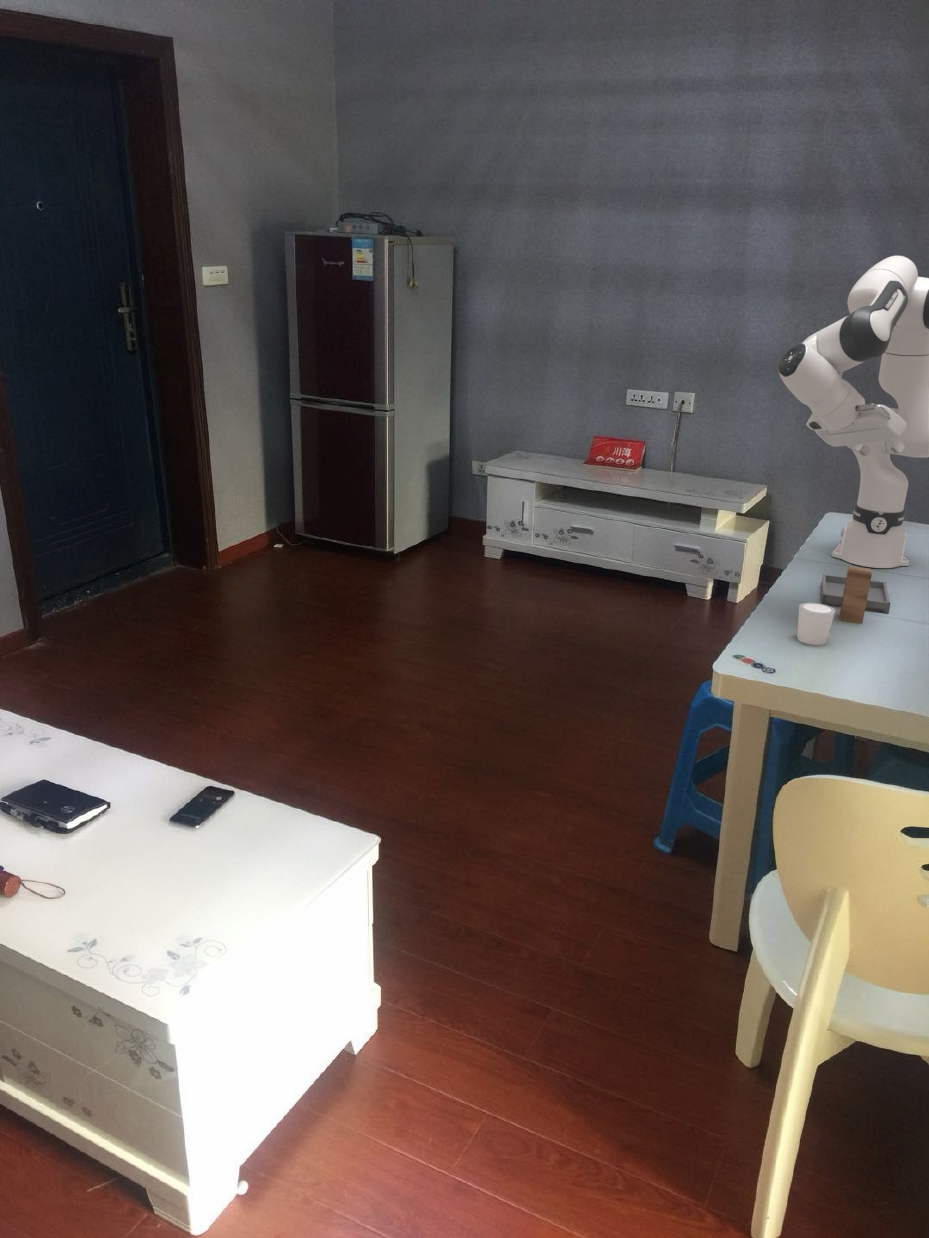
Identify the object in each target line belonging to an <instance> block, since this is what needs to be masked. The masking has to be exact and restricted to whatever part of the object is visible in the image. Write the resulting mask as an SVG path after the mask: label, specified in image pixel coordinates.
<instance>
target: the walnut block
mask: <svg viewBox="0 0 929 1238" xmlns="http://www.w3.org/2000/svg"><path fill="white" fill-rule="evenodd" d="M846 573H847V574H846V576H845V577H846V582H845V587H844V593H843V598H842V603H841V607H840V609H839V621H841V622H846V623H847V622H848V623H856V624H862V625H863V621H864V616H865V611H866V610H865V607H866V602H867V597H868V592H869V587H870V582H871V579H872V575H873V573H872V569H871V568H869V567H867V568H866V567H859V566H852V565H851V566H849V565H848V567H847V571H846Z"/></svg>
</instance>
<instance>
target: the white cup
mask: <svg viewBox="0 0 929 1238" xmlns="http://www.w3.org/2000/svg"><path fill="white" fill-rule="evenodd" d="M798 608H799V609H798V619H797V620H798V622H797V634H796V635H797V637H796V639H797V638H798V639H797V640H798V641H799V642H801V643H803V644H806V645H812V646H823V645H825V644H826V643H827V641H828V637H829V634H830V630H831V627H832V623H833V621H834V616H835V613H836V610H835V608H833V606H829V605H824V604H822V603H819V602H804V603H800V604H799V606H798Z"/></svg>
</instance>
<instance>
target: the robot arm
mask: <svg viewBox="0 0 929 1238" xmlns="http://www.w3.org/2000/svg"><path fill="white" fill-rule="evenodd" d="M847 309H848V311H849V314H848V315H847V316H844V317H843V318H841V319H839V320H837V321H836V322H835V321H834V323H831V324H830V325H828V326H826V327H824V328H821V329H820V330H818V331H816V332H814V333H813V334H811V335H809V336H808V337H807V338H805V339H804V340H803V341H802V342H799V343H796V344H794V345H792V346H790V348H789V349H788V350H786V351H785V352H784V354H783V355H782V357H781V359H780V361H779V363H778V367H777V371H778V372H777V373H778V374H779V377H780V379H781V380H782V382H783V383H784V385H785V386H786V388H787V389H788V390H789V392H790V393H791V394H792V395H793V396H794V397H795V398H796V399H797V400H798V401H799V402H800V403H802V404H803V405H805V406H807V407H808V408H809V409H810V410H811V415H810V416H809V418H808V420H807V422H806V423H805V425H806V427H808V429H809V430H812V431H814V432H815V434H816V435H817V436H818V437H819V438H820V439H822V441H824V442H825V444H827V445H828V446H831V447H834V448H836V447H847V448H848V449H851V451H852V452H853V454H854V456H855V457H856V460H857V462H858V466H859V471H860V481H859V491H858V496H857V503H856V504H855V505H854V508H853V511H852V512H853V513H852V521H850V523H848V524H847V525H846V526H845V527H843V528H841V531H840V537H841V538H842V539H840V542H839V543H837V546H836V547H835V548H834V549H833V551H832V552H831V553H830V554H831V557H833V558H837V559H840V560H843V561H845V562H847V563H849V564H852V565H853V564H854V565H857V566H861V567H865V568H866V567H867V568H875V569H894V568H897V567H905V566H910V561H909V559H908V558H906V557H905V556H904V551H905V546H906V540H907V532H906V531H905V529H904V528H903V527H902V525H903V523H904V519H905V510H904V508H905V505H906V504H905V503H906V498H907V493H908V489H909V480H908V478H907V476H906V474H905V473H904V472H903V471H901V470H900V469H898V468H897V467H896V466H895V465H894V463H893V462H892V460H891V455H896V456H897V455H898V456H903V457H910V458H915V459H916V458H921V459H922V458H923V459H925V458H929V277H923V276H919V273H918V268H917V266H916V264H915V262H913V261H912V260H911V259H910V258H908V257H906V256H903V255H891V256H889V257H886V258H884V259H882V260H880V261H879V262H877V263H876V264H874V265H872V266H871V267H870V268H869V269H868V270H867V271H865V273H864V274H863V275H862V276H861V277H860V278H859V279H858V280H857V282H856V283H855V284H854V285H853V287H852V288H851V290H850V292H849V294H848V296H847ZM878 357H881V360H880V366H879V374H878V383H879V385H880V387H881V389H882V390H883V391H884V392H885V393H887V394H888V395H890V396H891V397H892V398H893V399H894V400H895V402H896V404H897V407H898V408H893V407H888V406H887V405H884V404H877V403H875V402H874V403H873V402H872V403H868V404H866V400H865V398H864V397H863V396H862V395H861V394H860V393H859V392H858V391H857V389H856V388H855V387H854V386H852V384H851V383H849V381H847V380H845V379H843V378H842V377H843V374H844V373H843V372H845V371H848V370H850V369H852V368H855V367H857V366H858V365H861V364H863V363H865V362H869V361H870V360H873V359H876V358H878Z"/></svg>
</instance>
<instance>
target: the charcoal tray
mask: <svg viewBox="0 0 929 1238" xmlns="http://www.w3.org/2000/svg"><path fill="white" fill-rule="evenodd" d="M846 577H847V576H841V575H832V574H831V575H830V574H825V573H824V574H822V578H821V583H820V584H821V585H820V589H821V592H820V594H821V595H820V598H821V599H820V600H821V604H824V605H827V606H830V607H837V608H841V603H842V598H843V593H844V587H845V582H846ZM889 595H890V594H889V591H888V587H887V582H886V581H878V580H871V582H870V587H869V592H868V597H867V602H866V607H865V611H867V612H874V613H879V614H880V613H881V614H889V613H890V612H889V611H890V608H891V599H890V596H889Z"/></svg>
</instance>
